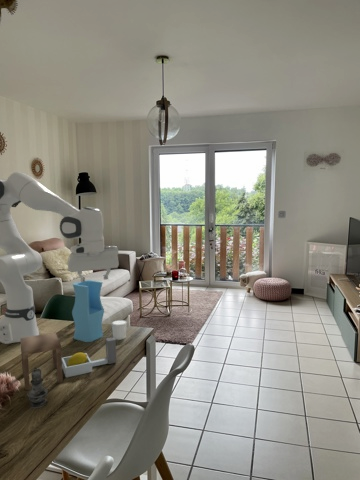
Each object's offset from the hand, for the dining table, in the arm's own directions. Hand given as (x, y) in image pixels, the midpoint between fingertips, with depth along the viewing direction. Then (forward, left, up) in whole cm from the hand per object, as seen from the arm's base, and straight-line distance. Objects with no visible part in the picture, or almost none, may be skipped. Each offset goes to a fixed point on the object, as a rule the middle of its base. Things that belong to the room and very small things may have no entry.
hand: (94, 280), depth 150 cm
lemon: (+3, -22, -28) cm, 35 cm away
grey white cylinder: (+2, +14, -29) cm, 33 cm away
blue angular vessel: (-11, +9, -29) cm, 33 cm away
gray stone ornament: (+8, -41, -29) cm, 51 cm away
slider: (+8, -15, -29) cm, 33 cm away
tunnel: (-3, -28, -29) cm, 40 cm away
